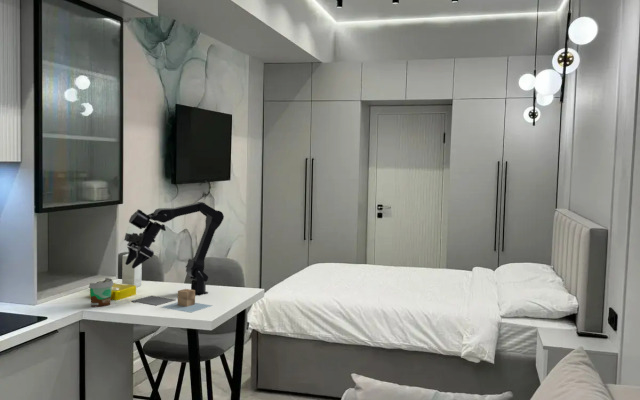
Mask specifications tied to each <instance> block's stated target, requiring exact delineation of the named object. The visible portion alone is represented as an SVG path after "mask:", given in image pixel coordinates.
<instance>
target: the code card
mask: <svg viewBox="0 0 640 400" xmlns="http://www.w3.org/2000/svg"><path fill="white" fill-rule="evenodd" d="M210 307H213V305H211V304H205V303H200V302H195V304H194V305H191V306H188V307H186V306H180V305H178V301H177V302H174V303H169V304H166V305H163V306H161V308H162V309H167V310H172V311H178V312H185V313H194V312H198V311H200V310H204V309H206V308H210Z"/></svg>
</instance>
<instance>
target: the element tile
mask: <svg viewBox="0 0 640 400" xmlns="http://www.w3.org/2000/svg"><path fill="white" fill-rule="evenodd" d="M135 295H137V287H136V285H129V284H122V283H118V282H117V283H116V282H113V286H112V289H111V301H121V300H124V299H127V298H129V297H133V296H135ZM89 298H90V299H91V296H90V295H89Z"/></svg>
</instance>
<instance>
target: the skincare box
mask: <svg viewBox="0 0 640 400" xmlns="http://www.w3.org/2000/svg"><path fill="white" fill-rule="evenodd" d="M127 256H128V253H126V254H123V255H122V261H121V263H122V270H121V272H122V274H121V275H122V277H121V284H129V285H136V288H138V287H140V286H142V274H143V273H142V272H143V271H142V269H143V268H142V266H143V263H141V264H140V265H138V266H137V267H136V268H132V265H133V263H134V261H135V259H134V260H133V261H132V262H131V263H129V264H128V265H126V264H125V263H126V260H127Z"/></svg>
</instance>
